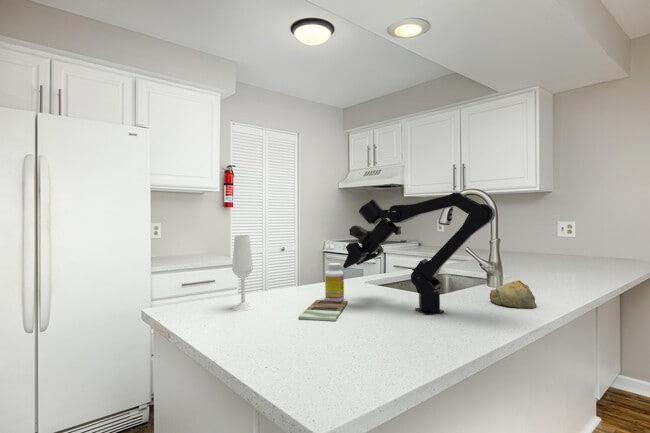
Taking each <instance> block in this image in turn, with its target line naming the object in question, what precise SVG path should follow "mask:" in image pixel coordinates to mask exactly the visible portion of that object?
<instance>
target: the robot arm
mask: <svg viewBox="0 0 650 433" xmlns="http://www.w3.org/2000/svg"><path fill="white" fill-rule="evenodd" d="M452 207H457V208H458V209H460V210H461V211H462V212H464V213H465V214H467V216H466V218H465V220H464V222H463V224H462V225H461V226H460V228H459V229H458V230H457V231H456V232H455V233H453V235H452V236H451V237H450V238H449V239H448V240H447V241H446V243H445V244H444V245H442V247H441V248H440V249H439V250H438V251H437V252H436V253H435V254H434V255H433V256H432V257H431V258H430V259H429V260H428V259H427V258H424V259H422V260H420V261H419V262H418V263H417V265H416V267H414V268H412V269H411V270H412V272H411V274H410V281H411V283H412V284H413V286H414V287H415V290H416V292H417V294H418V307H415V311H416V312H417V311H418V312H420V313H422V314H424V315H436V314H444V313H445V310H442V309H441V298H440V295H441V293H440V290H441V288H442V286H443V283H442V282H441V281H440V280H439V279H438V278H437V276H438V275H439V273H440V271H441V269H442V268H443V266H444V265H445V264H446V263H447V262H448V261H449V260H450V259H451V258H452V257H453V255H455V254H456V253H457V251H458V250H459V249H460V248H461V247H463V245H465V244H466V242H468V240H469V239H470V238H471V237H472V236H473V235H474V234H476V233H477V232H479V231H480V230H482V229H483V228H485V227H486V226H487V225H489V224H490V223H492V222H493V221H494V220H495V218H496V211H495V208H494V207H493V206H492V205H490V204H487V203H486V204H485V203H480V202H477V201H475V200H473V199H471V198H470V197H468V196H466V195H464V194H463V193H461V192H458V191H456V192H455V191H454V192H452V193H450V194H446V195H443V196H439V197H435V198H432V199H427V200H424V201H419V202H416V203H404V204H394V205H391V206H390V207H389V208H388V209H383V208H382V207H381V205H379V203H378V202H377V201H376V200H375V199H371V200H369V202H367V203H365V204H364V205H362V206H361V207H360V208H359V210H358V214H359V215H360V216H361V217H362V218H363V219H364V220H365V221H366V223H368V225H374V227H373V228H372V229H371V230H368V229H366V228H364V227H361V226H359V225H353V226H351V227H350V228H349V234H348V235H350V236H351V237H354V238H356V239H358V242H356V241H355V242H354V241H353V242H349V243H348V244H347V245H346V246H345V249H346V252H347V257H346V259H345V261H344V262H343V265H342V267H343V269H347V268H350V267H351V266H354V265H356V266H359V265H361V264H363V263H366V262H368V261H370V260H373V259H375V258H377V257H379V256H381V255H382V254H383V253H384V247H383V245H385V244H386V243H387V242H386V241H387V240H388V239H389V238H390V237H392V235H393V234H394V235H396V236H398V235H402V226H397V225H396V224H402V223H406V222H408V221H410V220H413V219H415V218H417V217H418V216H421V215H424V214H425V215H426V214H428V213H429V214H430V213H433V212H437V211H440V210H444V209H450V208H452ZM388 219H389V220H388ZM360 244H361V245H360Z"/></svg>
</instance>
